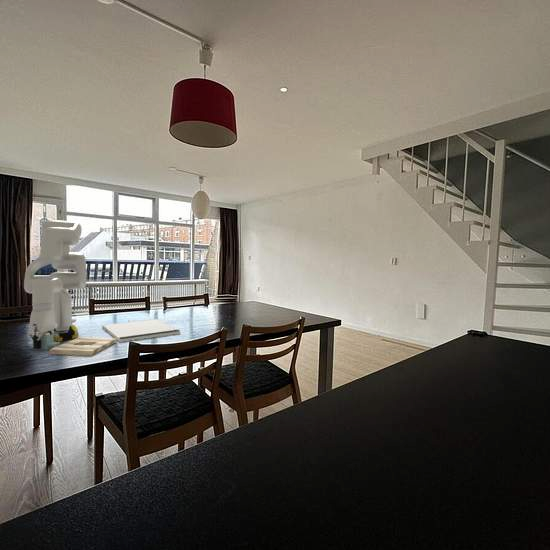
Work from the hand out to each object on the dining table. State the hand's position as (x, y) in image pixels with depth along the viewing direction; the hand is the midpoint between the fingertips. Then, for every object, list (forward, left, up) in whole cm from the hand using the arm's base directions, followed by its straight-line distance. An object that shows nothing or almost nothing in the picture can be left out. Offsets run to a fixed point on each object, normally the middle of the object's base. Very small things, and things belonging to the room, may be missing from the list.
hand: (43, 346), depth 142 cm
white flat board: (-37, +27, -2) cm, 46 cm away
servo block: (0, 0, -1) cm, 1 cm away
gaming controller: (-15, -2, -1) cm, 16 cm away
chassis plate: (-3, +17, -1) cm, 17 cm away
